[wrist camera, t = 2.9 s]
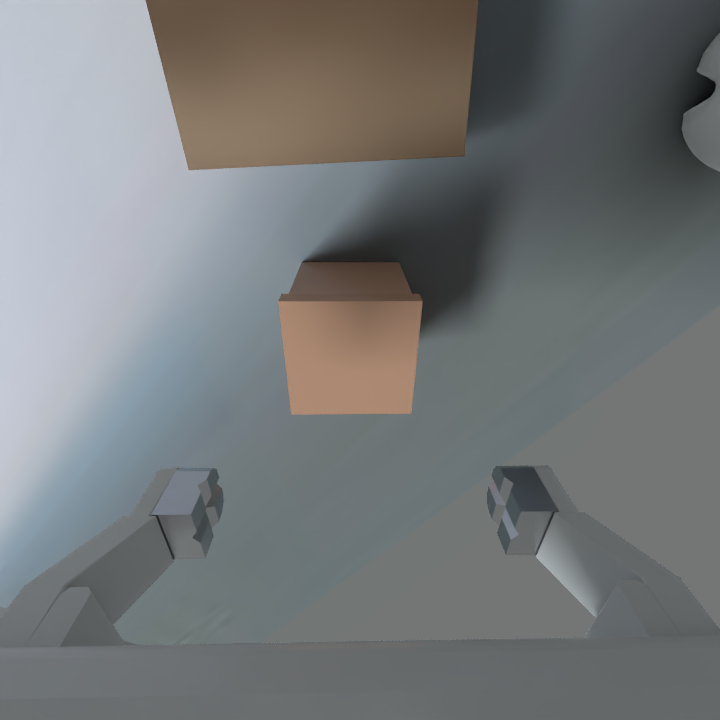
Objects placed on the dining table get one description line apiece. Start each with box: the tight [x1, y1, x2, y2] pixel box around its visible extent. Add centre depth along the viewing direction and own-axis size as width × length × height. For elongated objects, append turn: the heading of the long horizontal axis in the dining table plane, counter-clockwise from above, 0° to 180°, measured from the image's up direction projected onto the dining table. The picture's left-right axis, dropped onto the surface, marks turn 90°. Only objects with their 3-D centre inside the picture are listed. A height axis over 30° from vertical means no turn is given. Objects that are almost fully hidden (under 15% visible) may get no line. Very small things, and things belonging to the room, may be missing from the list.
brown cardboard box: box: [278, 262, 423, 414], centre depth 18 cm, size 6×6×6 cm
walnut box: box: [146, 0, 479, 170], centre depth 12 cm, size 9×9×6 cm
